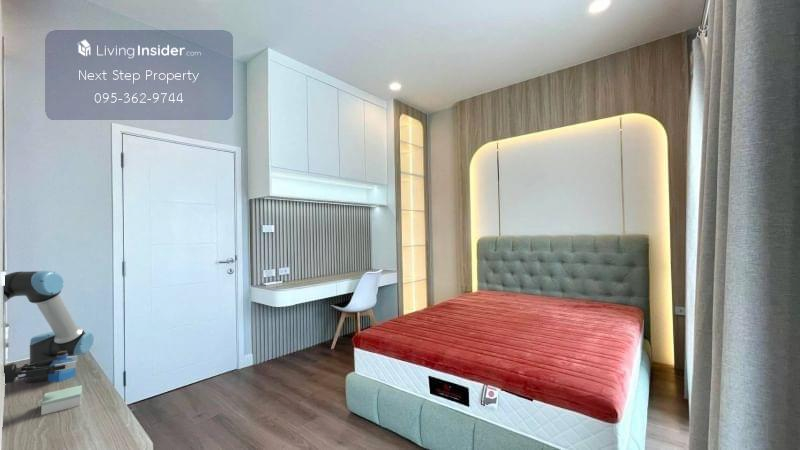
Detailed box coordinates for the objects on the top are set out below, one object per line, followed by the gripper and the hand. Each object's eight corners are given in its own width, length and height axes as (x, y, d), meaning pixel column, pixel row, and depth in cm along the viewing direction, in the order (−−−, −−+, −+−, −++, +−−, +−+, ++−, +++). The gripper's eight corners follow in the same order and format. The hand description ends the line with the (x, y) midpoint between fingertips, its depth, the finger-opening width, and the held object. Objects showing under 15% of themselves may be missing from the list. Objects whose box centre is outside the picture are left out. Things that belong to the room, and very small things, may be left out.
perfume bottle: (58, 382, 146) (59, 354, 147) (48, 381, 148) (48, 353, 148) (75, 376, 152) (75, 349, 153) (64, 375, 154) (65, 349, 154)
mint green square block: (45, 404, 150) (45, 393, 151) (81, 395, 158) (82, 385, 159) (41, 415, 141) (41, 403, 142) (80, 405, 149) (80, 393, 150)
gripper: (6, 376, 146) (78, 363, 161) (-7, 393, 130) (74, 376, 145) (7, 359, 147) (78, 347, 162) (-6, 373, 131) (75, 359, 145)
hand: (76, 361), depth 153 cm, fingers closed on perfume bottle, 9 cm apart
